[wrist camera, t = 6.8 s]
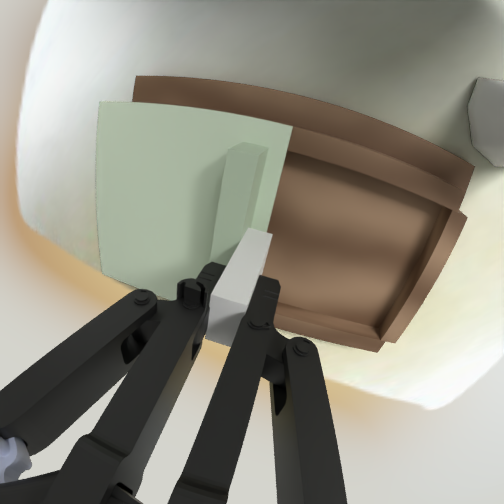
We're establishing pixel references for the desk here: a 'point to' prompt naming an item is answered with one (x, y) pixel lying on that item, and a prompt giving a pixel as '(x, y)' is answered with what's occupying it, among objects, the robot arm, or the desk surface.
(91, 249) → the desk surface
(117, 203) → the cover
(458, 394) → the desk surface
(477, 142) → the flask
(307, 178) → the tray
